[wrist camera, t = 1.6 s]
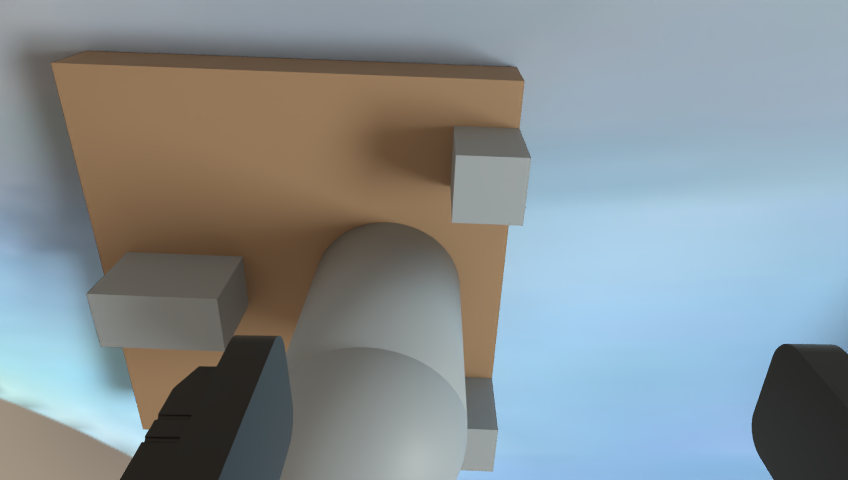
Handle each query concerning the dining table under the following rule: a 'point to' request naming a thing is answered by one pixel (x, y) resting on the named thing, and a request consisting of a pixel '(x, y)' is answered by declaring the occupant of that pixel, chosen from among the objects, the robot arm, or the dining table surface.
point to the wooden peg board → (308, 239)
